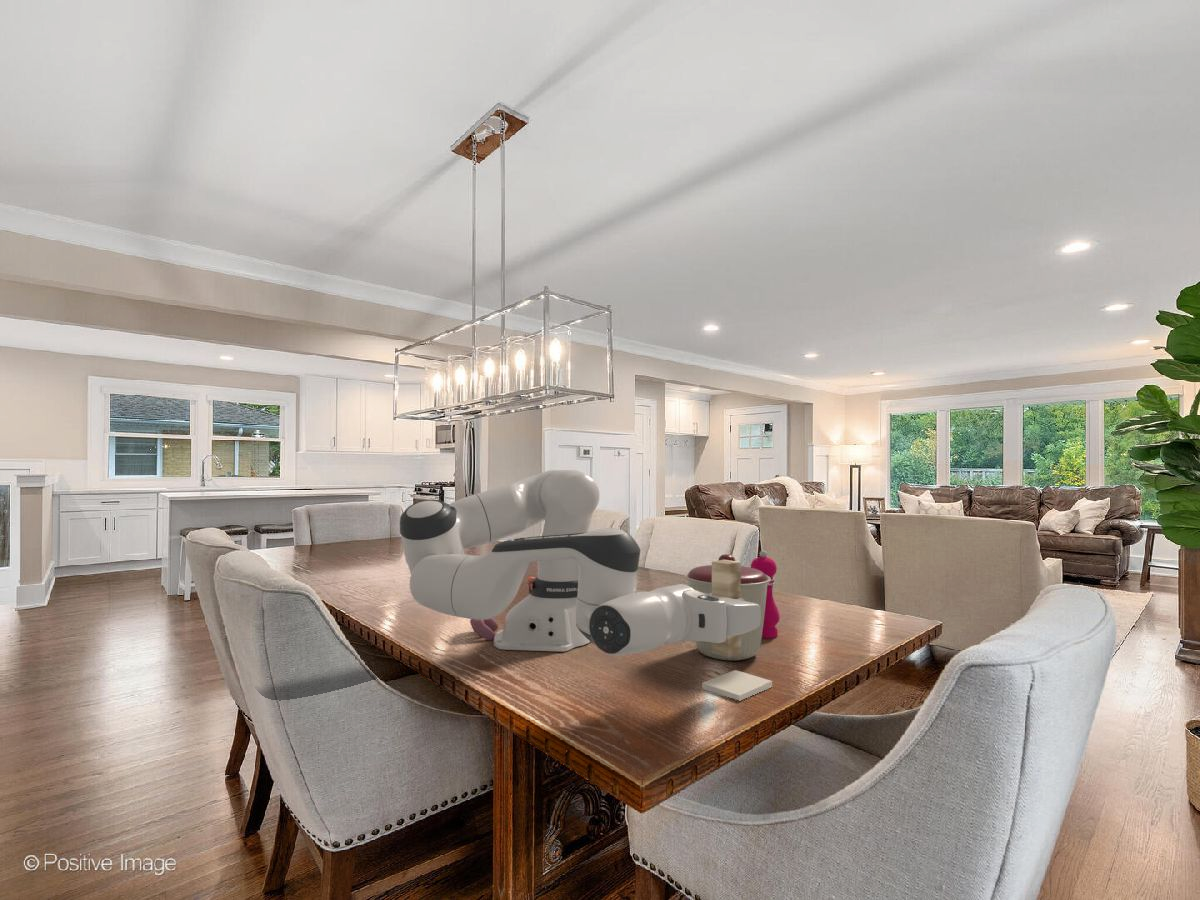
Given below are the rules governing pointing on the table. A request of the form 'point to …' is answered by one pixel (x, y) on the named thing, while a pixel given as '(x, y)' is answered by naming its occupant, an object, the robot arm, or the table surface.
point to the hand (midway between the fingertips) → (729, 600)
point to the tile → (737, 685)
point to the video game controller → (484, 628)
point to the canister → (750, 591)
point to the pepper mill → (768, 595)
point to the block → (729, 586)
